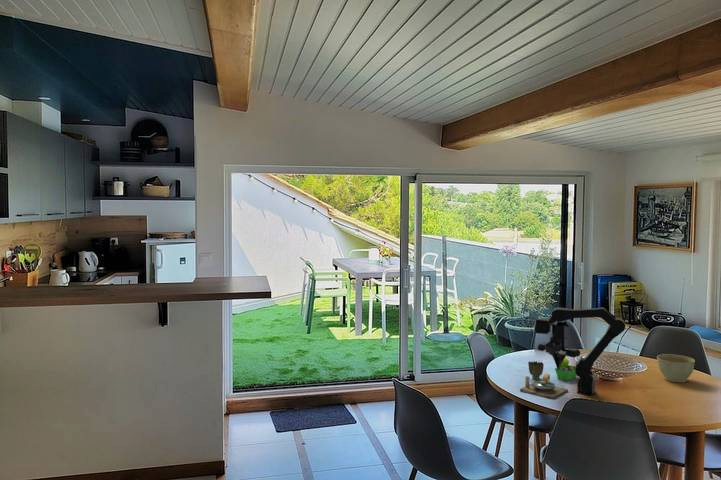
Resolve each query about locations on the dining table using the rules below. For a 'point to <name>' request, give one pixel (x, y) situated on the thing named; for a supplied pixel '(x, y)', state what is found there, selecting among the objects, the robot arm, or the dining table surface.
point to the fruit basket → (566, 371)
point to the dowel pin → (527, 381)
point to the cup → (535, 369)
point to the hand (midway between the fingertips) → (558, 367)
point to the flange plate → (544, 386)
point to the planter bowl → (675, 367)
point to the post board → (544, 391)
